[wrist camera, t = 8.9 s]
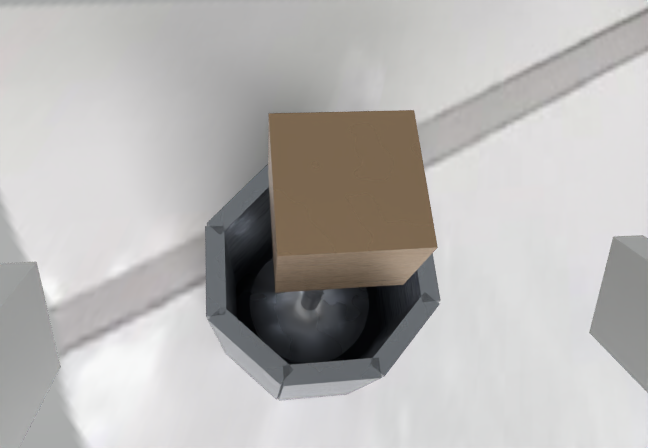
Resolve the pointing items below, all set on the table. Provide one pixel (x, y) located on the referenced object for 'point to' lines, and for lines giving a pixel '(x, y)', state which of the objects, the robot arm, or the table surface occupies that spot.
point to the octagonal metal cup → (236, 323)
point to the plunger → (338, 226)
